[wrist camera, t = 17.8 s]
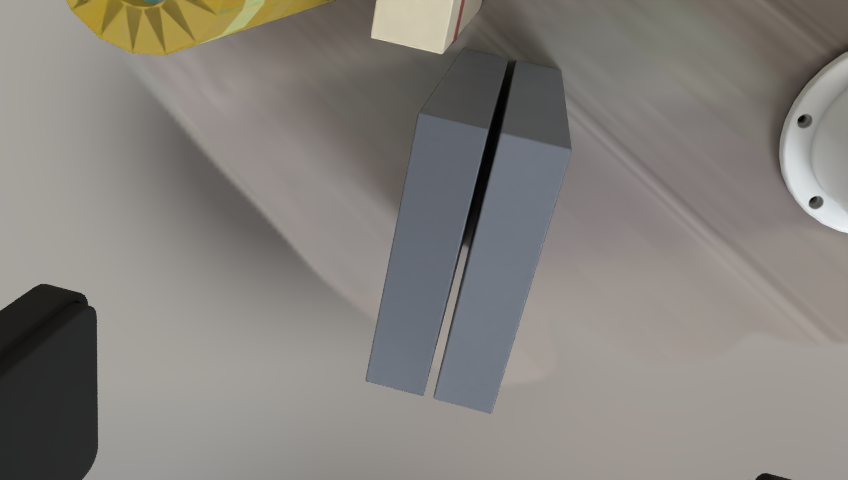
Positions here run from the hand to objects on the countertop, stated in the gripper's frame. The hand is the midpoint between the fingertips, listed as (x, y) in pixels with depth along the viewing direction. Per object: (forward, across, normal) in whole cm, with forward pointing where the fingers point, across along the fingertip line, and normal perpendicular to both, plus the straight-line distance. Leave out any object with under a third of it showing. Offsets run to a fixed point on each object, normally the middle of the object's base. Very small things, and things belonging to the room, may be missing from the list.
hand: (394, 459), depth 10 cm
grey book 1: (+38, -2, +8) cm, 39 cm away
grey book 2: (+38, +2, +8) cm, 39 cm away
